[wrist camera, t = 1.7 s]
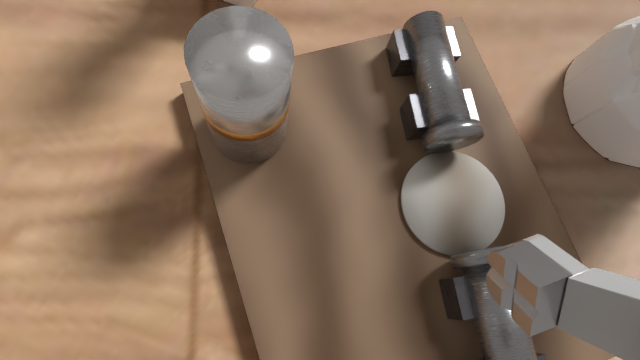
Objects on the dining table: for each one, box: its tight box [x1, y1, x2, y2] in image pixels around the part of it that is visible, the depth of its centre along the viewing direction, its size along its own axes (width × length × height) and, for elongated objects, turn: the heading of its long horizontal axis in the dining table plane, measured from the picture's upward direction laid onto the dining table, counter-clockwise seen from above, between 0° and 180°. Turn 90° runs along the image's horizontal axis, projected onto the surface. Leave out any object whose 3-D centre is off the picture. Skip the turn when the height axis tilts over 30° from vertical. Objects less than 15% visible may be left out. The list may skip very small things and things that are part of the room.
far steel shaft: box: [385, 11, 484, 153], centre depth 28 cm, size 9×4×4 cm, turn 9°
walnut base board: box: [180, 17, 615, 360], centre depth 27 cm, size 22×26×2 cm
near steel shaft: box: [439, 245, 547, 360], centre depth 24 cm, size 9×4×4 cm, turn 9°
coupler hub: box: [184, 6, 294, 164], centre depth 23 cm, size 5×5×9 cm
